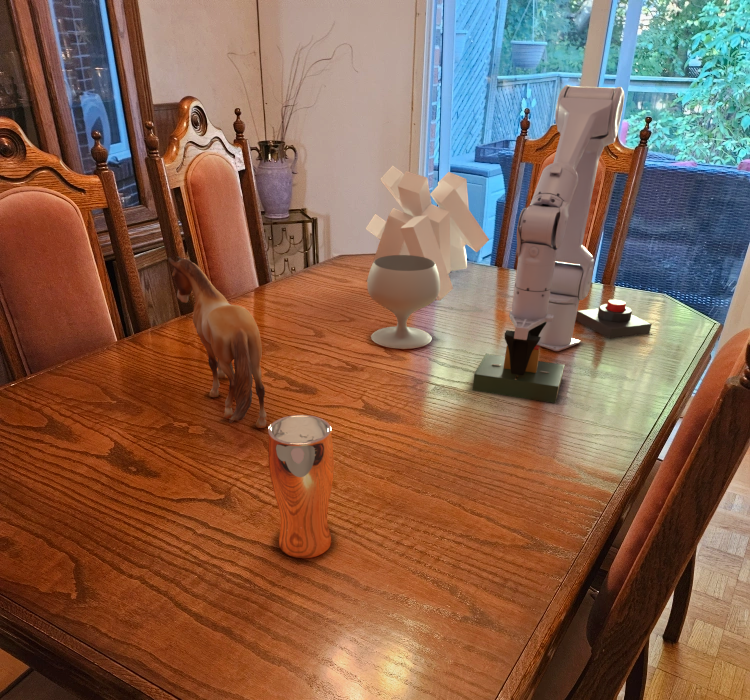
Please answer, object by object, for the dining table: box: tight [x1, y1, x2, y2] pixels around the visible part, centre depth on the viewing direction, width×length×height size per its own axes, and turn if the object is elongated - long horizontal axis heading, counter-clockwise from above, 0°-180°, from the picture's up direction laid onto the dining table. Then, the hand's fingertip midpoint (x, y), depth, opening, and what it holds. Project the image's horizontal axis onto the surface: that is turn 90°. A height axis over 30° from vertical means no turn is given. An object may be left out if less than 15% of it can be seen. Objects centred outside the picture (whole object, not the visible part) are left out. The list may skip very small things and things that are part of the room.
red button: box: [606, 299, 627, 312], centre depth 139 cm, size 4×4×2 cm
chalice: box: [366, 255, 440, 350], centre depth 129 cm, size 14×14×15 cm
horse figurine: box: [167, 256, 268, 429], centre depth 101 cm, size 31×8×21 cm, turn 26°
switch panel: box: [472, 353, 565, 404], centre depth 115 cm, size 14×10×3 cm
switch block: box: [575, 303, 652, 340], centre depth 141 cm, size 12×10×4 cm
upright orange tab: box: [504, 345, 542, 373], centre depth 113 cm, size 6×2×4 cm, turn 71°
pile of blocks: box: [365, 165, 490, 301], centre depth 159 cm, size 35×30×35 cm
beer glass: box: [267, 414, 335, 559], centre depth 74 cm, size 7×7×15 cm
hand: (520, 366), depth 114 cm, fingers open, 6 cm apart
